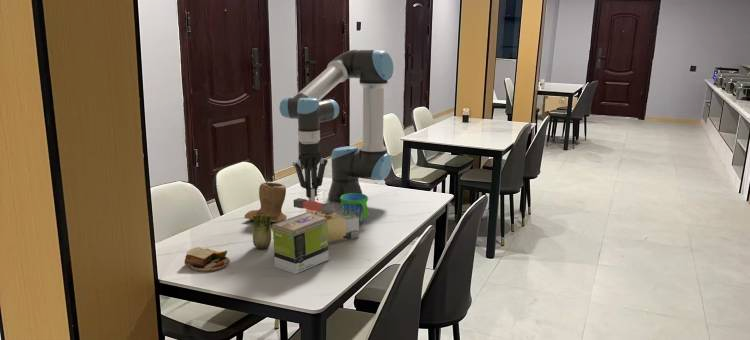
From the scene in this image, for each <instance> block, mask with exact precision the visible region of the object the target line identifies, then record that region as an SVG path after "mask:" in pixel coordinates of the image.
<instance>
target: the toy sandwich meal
mask: <svg viewBox="0 0 750 340" xmlns="http://www.w3.org/2000/svg"><path fill="white" fill-rule="evenodd" d="M227 254H228V250H224V251H215V250H213V249H210V248H202V247H199V246H198V247H193V248H192V249H189V250H188V251H187V252H186V255H185V258H184V262H183V263H184V264H185V265H188V266H189V268H191V269H193V270H194V271H196V272H204V273H205V272H207V273H208V272H214V271H220V270H222V269H223V268H226V266H228V264H230V258H229V257H228V256H227Z"/></svg>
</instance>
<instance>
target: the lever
mask: <svg viewBox="0 0 750 340" xmlns="http://www.w3.org/2000/svg"><path fill="white" fill-rule="evenodd" d="M293 208H299V209H302V210H303V209H306V210H310V211H316V212H320V213H321V214H332V213H334V212H335V204H333V203H323V202H317V201H315V202H313V201H309V199H306V198H300V197H299V198H296V199H293Z"/></svg>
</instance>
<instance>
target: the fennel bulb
mask: <svg viewBox="0 0 750 340" xmlns="http://www.w3.org/2000/svg"><path fill="white" fill-rule="evenodd" d="M257 219H258V220H257ZM252 231H253V232H252V243H253V244H252V245H253V246H254V247H255V248H257V249H259V250H260V249H261V250H264V249H268V248H269V247H270V245H271V241H272V229H271V222H270V216H268V215H267V218H266V221H265V215H261V219H260V215H253V230H252Z"/></svg>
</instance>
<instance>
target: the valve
mask: <svg viewBox="0 0 750 340" xmlns="http://www.w3.org/2000/svg"><path fill="white" fill-rule="evenodd" d="M315 215H316V216H320V217H324V218H327V231H328V245H332V244H336V243H337V244H338V243H342V242H346V240H347V239H346V238H349V239H350V240H355V239H359V230H360V224H359V217H357V216H355V215H353V214H350V215H345V216H344V215H340V214H338V213H336V212H335V211H334V213H332V214H324V213H321V214H315ZM345 236H346V237H345Z"/></svg>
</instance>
